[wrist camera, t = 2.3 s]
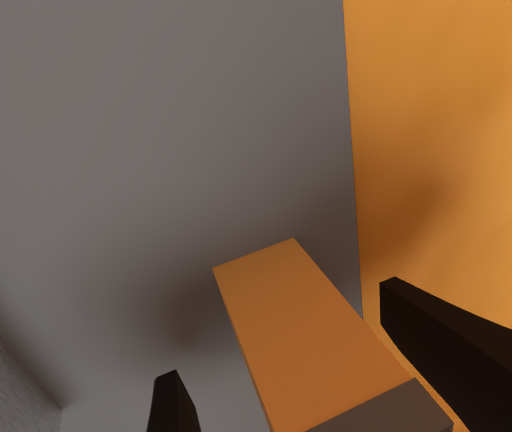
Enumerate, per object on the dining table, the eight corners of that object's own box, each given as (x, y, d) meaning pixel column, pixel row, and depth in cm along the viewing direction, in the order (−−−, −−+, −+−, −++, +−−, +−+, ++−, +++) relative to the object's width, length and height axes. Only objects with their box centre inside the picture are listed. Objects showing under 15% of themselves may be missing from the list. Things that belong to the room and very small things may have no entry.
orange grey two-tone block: (311, 333, 15) (436, 530, 9) (243, 362, 14) (328, 593, 8) (294, 235, 12) (453, 422, 6) (210, 267, 12) (299, 504, 6)
